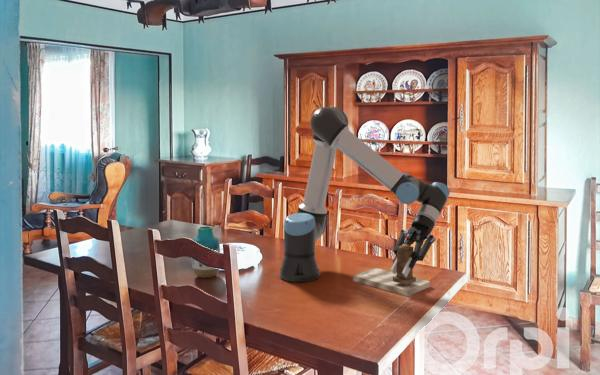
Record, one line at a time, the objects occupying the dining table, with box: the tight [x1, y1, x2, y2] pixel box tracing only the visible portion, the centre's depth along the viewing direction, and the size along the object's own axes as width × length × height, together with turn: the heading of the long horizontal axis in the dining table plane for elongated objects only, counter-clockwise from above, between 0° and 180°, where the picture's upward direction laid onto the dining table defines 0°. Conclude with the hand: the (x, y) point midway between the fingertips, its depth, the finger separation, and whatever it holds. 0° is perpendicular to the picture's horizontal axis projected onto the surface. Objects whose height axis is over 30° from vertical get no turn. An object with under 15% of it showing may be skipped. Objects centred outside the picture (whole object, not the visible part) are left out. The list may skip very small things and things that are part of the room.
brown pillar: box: [393, 244, 417, 285], centre depth 191 cm, size 6×6×13 cm
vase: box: [191, 225, 221, 279], centre depth 205 cm, size 11×11×19 cm
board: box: [352, 267, 431, 297], centre depth 198 cm, size 24×14×2 cm, turn 46°
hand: (398, 273), depth 188 cm, fingers closed on brown pillar, 4 cm apart
